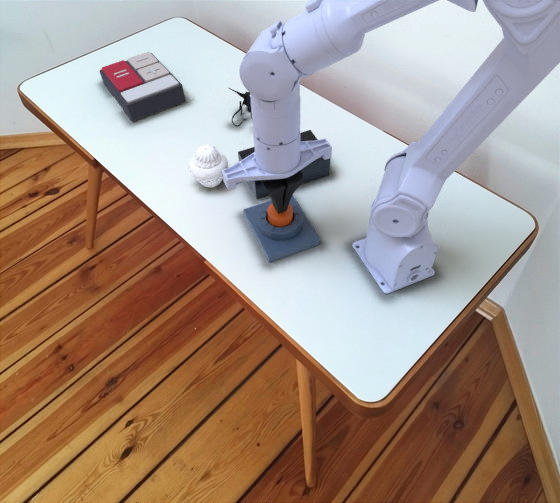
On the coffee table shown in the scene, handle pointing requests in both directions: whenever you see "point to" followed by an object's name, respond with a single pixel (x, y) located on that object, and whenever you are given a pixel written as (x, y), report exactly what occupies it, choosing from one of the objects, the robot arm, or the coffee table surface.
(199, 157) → the white rounded ridged piece
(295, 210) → the station
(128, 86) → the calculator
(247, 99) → the creature
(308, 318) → the coffee table surface
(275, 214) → the power button
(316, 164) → the holder
